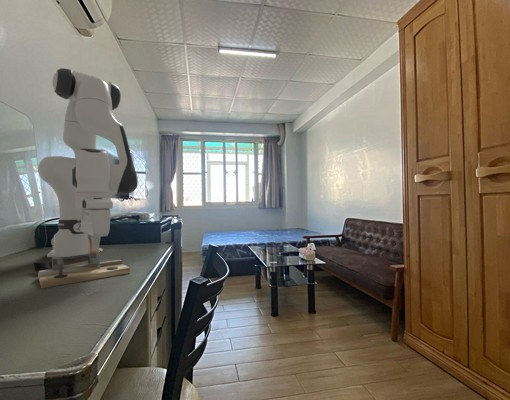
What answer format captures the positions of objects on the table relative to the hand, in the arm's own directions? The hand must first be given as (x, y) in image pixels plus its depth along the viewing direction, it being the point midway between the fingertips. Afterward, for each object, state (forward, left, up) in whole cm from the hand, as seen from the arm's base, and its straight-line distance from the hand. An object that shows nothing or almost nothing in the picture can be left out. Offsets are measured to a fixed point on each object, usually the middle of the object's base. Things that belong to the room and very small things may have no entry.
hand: (93, 249), depth 79 cm
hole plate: (+2, -3, -7) cm, 7 cm away
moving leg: (+2, 0, -5) cm, 5 cm away
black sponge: (-14, -5, -7) cm, 16 cm away
